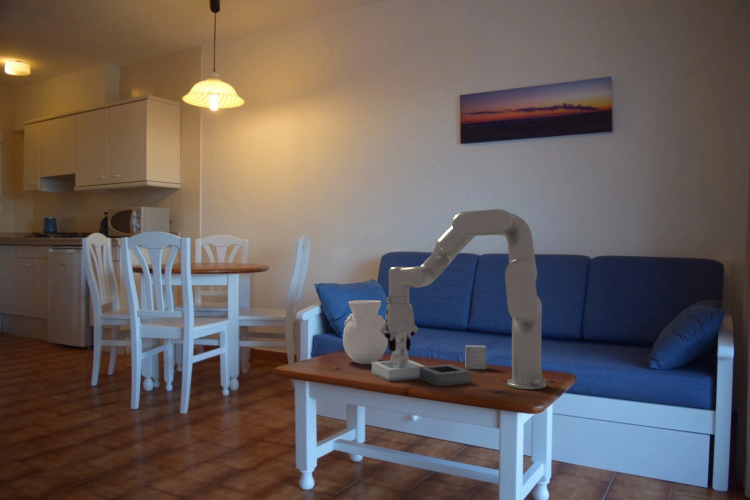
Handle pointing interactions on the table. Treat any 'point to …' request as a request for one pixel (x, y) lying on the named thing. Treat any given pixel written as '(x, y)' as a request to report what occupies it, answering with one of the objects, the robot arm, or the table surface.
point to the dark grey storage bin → (445, 375)
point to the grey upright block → (475, 357)
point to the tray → (396, 371)
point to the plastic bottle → (400, 349)
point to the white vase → (364, 332)
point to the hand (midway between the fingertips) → (399, 349)
